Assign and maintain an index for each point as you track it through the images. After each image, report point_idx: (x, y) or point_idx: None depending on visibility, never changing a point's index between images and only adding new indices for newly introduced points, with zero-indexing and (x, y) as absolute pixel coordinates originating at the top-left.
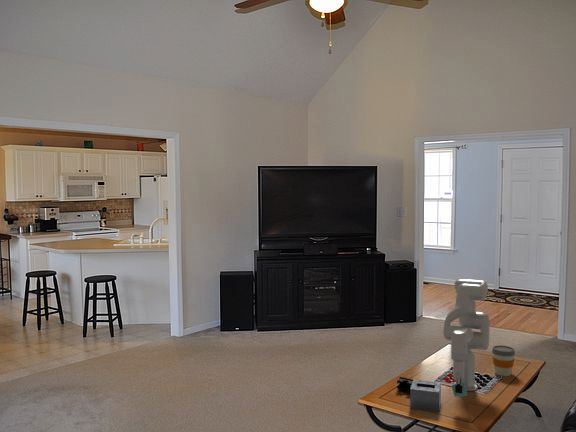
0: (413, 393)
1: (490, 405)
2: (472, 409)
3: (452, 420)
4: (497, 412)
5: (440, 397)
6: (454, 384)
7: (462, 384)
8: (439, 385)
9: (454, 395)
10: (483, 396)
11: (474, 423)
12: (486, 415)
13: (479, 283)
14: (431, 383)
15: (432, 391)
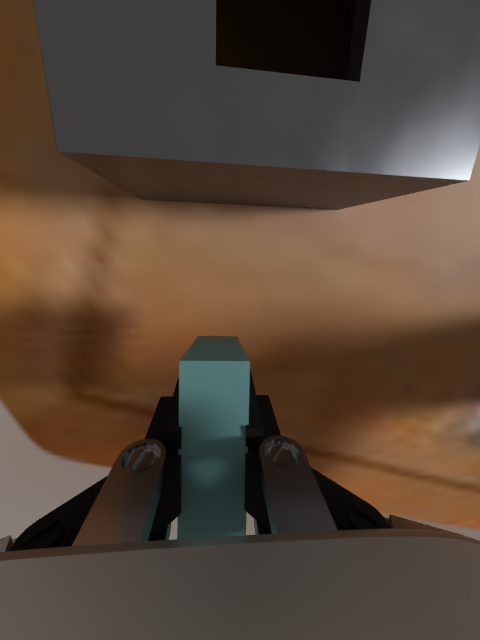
0: None
1: (327, 462)
2: (256, 393)
3: (42, 293)
4: None
5: (331, 203)
6: (201, 410)
7: (179, 531)
8: (353, 157)
9: (197, 339)
10: (432, 432)
11: (65, 409)
12: None
13: None
14: (426, 4)
15: (36, 7)
